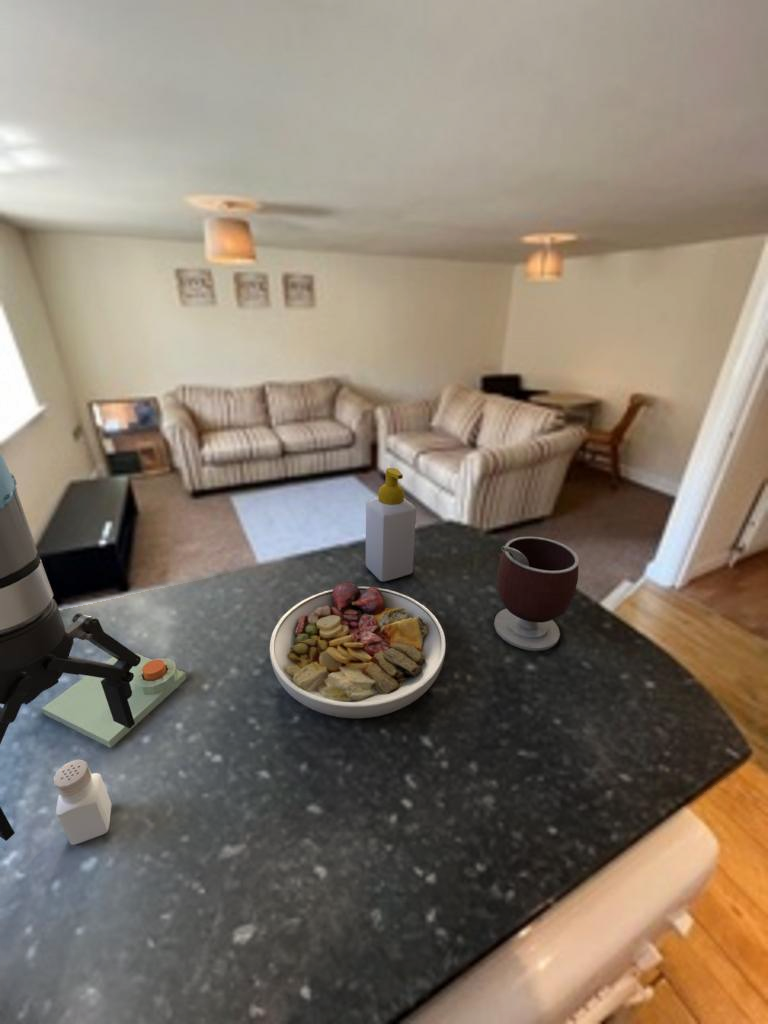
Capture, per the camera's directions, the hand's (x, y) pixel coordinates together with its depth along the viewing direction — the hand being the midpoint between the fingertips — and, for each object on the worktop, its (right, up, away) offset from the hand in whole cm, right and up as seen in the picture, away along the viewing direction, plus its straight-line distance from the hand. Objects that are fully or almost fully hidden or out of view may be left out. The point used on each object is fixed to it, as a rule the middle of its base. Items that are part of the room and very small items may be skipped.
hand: (70, 770), depth 49 cm
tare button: (-2, +2, +23) cm, 23 cm away
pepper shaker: (0, -9, +4) cm, 10 cm away
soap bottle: (+36, +14, +57) cm, 69 cm away
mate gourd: (+62, +5, +38) cm, 73 cm away
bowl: (+30, +2, +31) cm, 43 cm away
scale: (-7, -1, +22) cm, 23 cm away
